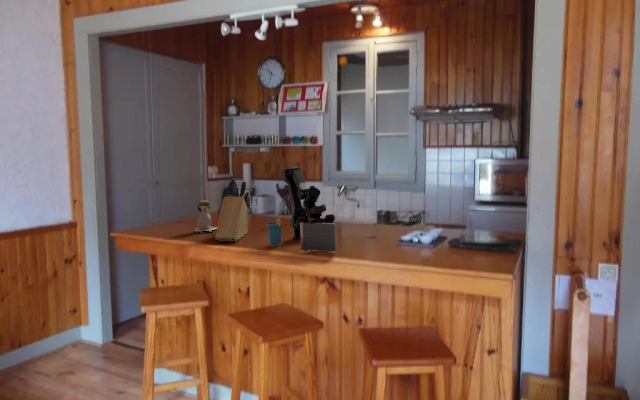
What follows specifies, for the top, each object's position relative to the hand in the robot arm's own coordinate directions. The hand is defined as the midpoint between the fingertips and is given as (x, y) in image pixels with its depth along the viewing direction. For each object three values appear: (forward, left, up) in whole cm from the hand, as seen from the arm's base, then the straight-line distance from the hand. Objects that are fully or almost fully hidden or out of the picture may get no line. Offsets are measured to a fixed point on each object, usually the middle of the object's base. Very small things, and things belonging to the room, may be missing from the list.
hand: (320, 235), depth 226 cm
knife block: (-30, -52, -7) cm, 61 cm away
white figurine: (-45, -74, -7) cm, 87 cm away
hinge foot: (+5, -8, -6) cm, 11 cm away
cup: (-10, -25, -7) cm, 28 cm away
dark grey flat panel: (+6, 0, -5) cm, 8 cm away
